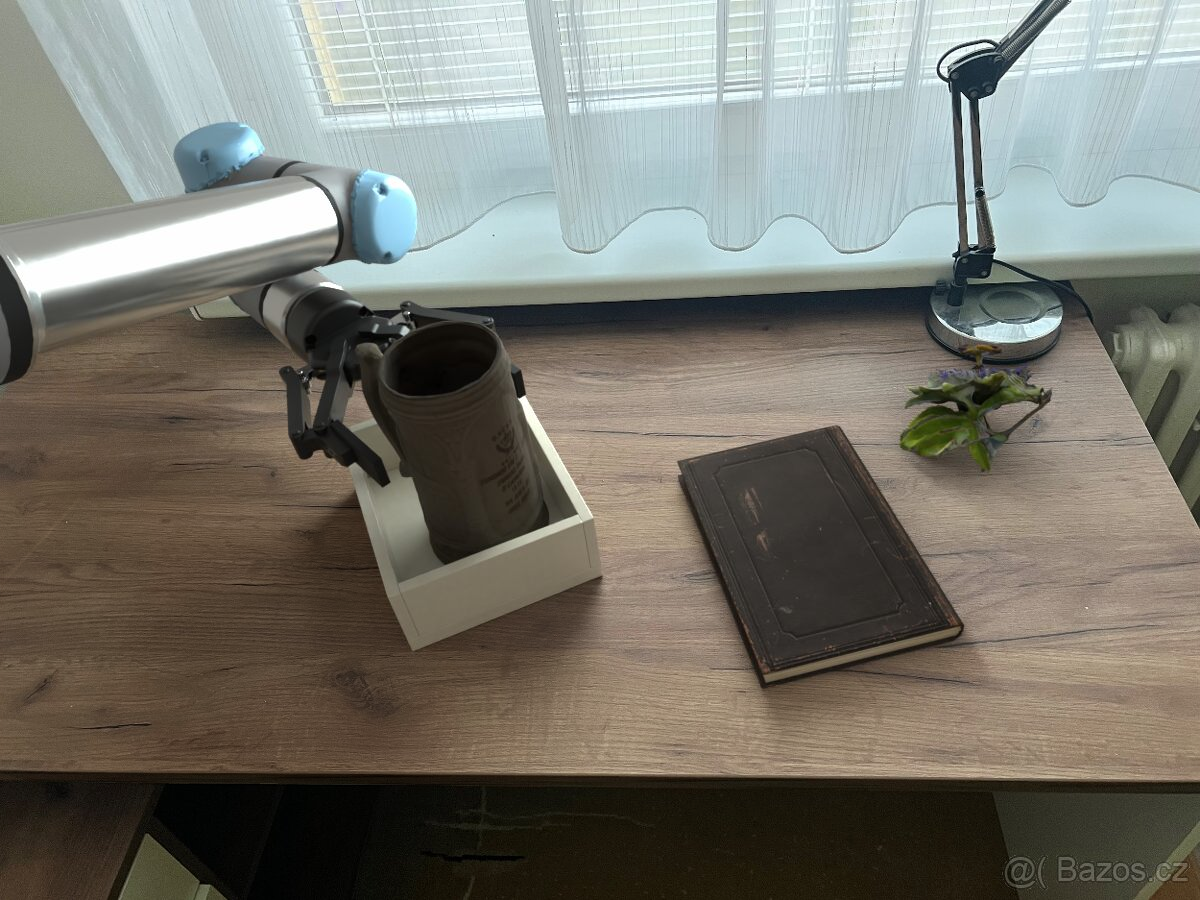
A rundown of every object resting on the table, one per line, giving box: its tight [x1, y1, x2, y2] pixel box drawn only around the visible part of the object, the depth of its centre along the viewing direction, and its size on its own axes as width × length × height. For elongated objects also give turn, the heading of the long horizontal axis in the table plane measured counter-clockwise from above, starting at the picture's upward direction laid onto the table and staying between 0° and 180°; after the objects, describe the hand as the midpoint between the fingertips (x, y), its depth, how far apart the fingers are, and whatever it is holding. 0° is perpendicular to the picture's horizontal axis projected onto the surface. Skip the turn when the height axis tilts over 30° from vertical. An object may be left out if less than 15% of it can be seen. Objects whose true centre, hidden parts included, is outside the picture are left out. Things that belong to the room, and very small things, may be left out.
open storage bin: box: [346, 395, 604, 652], centre depth 78 cm, size 17×21×8 cm
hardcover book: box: [676, 424, 965, 689], centre depth 74 cm, size 16×23×2 cm
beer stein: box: [355, 320, 549, 565], centre depth 72 cm, size 15×11×20 cm
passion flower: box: [899, 343, 1053, 473], centre depth 79 cm, size 11×11×12 cm
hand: (454, 427), depth 69 cm, fingers open, 13 cm apart
